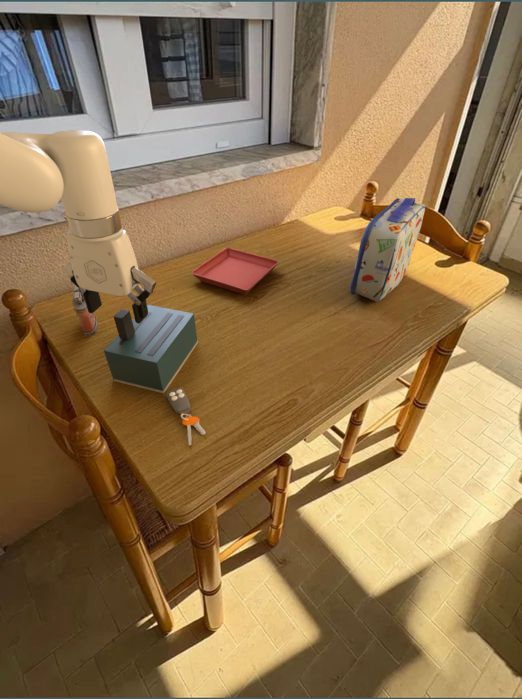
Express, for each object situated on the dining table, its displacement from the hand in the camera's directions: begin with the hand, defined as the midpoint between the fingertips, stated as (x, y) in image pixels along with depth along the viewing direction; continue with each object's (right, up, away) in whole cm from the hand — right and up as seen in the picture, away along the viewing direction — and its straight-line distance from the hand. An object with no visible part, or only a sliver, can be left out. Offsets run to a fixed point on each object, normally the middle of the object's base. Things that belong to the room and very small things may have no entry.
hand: (118, 314), depth 70 cm
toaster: (+4, -9, +11) cm, 14 cm away
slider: (0, -4, +4) cm, 5 cm away
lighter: (-14, -1, +19) cm, 24 cm away
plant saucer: (+19, +14, +37) cm, 44 cm away
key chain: (+13, -19, -1) cm, 23 cm away
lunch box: (+59, +12, +36) cm, 70 cm away
